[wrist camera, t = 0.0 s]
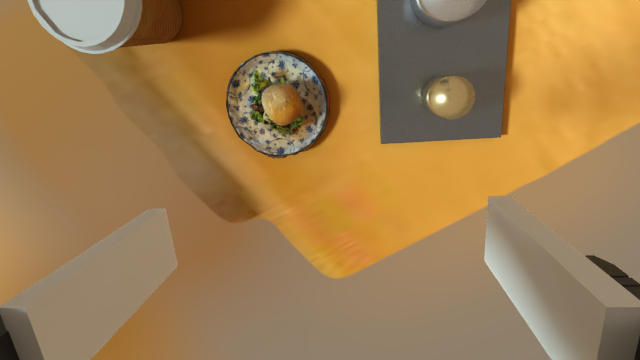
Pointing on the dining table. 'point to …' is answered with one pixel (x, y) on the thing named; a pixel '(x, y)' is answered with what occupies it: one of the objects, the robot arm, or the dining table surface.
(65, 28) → the disposable coffee cup
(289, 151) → the burger
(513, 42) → the dining table surface
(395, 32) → the plate
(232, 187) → the dining table surface
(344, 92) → the dining table surface
